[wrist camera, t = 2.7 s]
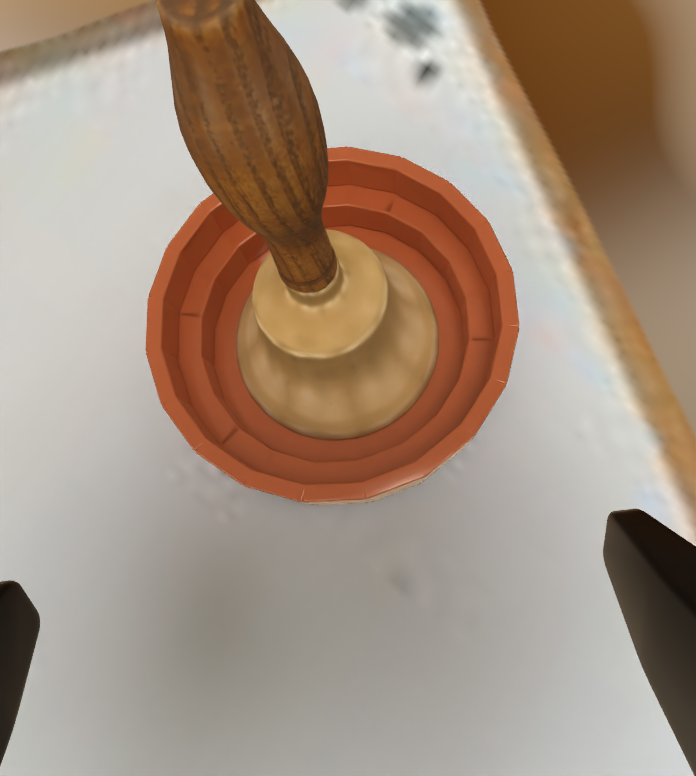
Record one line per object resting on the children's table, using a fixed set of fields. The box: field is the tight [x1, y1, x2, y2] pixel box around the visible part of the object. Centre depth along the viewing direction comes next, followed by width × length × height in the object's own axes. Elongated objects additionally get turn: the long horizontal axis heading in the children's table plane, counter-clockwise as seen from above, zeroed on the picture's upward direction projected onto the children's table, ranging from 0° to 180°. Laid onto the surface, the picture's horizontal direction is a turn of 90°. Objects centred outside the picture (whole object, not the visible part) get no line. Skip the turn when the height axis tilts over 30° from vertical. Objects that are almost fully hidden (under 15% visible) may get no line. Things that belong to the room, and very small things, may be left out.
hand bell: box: [157, 0, 439, 440], centre depth 16 cm, size 8×8×16 cm
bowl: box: [146, 147, 519, 505], centre depth 22 cm, size 13×13×4 cm
